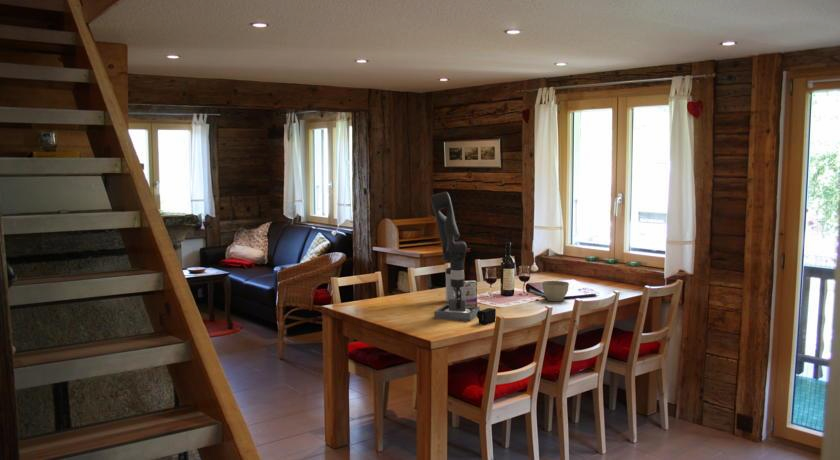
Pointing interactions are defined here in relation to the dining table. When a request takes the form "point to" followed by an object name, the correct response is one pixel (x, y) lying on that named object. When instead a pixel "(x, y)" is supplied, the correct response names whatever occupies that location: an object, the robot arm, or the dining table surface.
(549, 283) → the planter bowl
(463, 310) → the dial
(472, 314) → the dial housing
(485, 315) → the digital camera
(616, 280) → the dining table surface
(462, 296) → the candy bar box
